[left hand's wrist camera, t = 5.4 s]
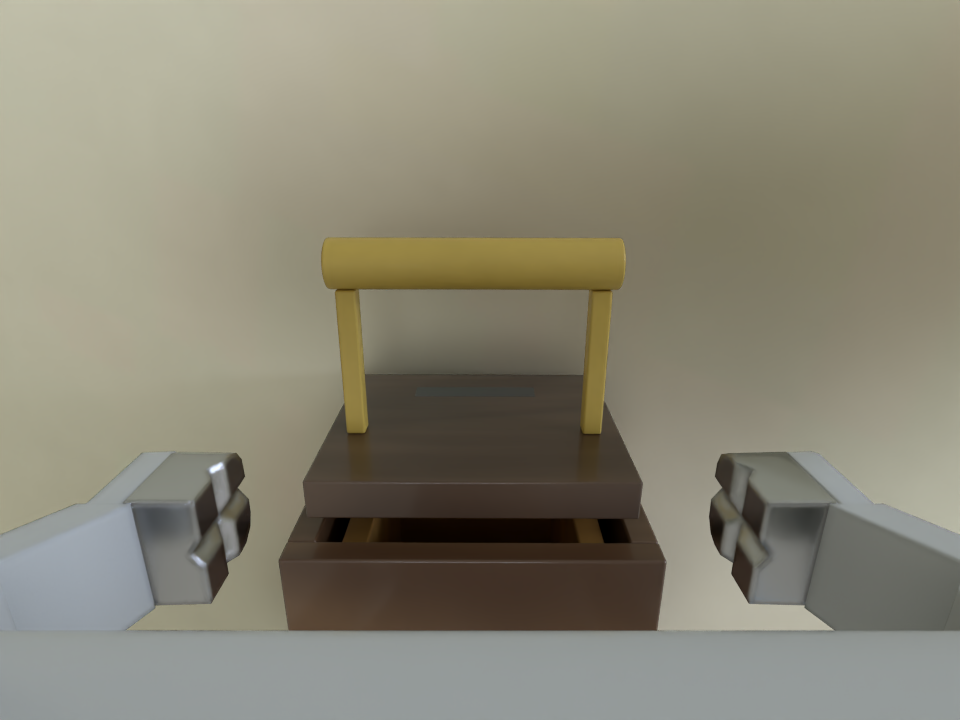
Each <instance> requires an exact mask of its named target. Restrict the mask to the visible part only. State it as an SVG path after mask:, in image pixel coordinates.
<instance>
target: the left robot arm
mask: <svg viewBox="0 0 960 720" xmlns="http://www.w3.org/2000/svg"><path fill="white" fill-rule="evenodd" d="M244 477H245V474H244V469H243V464H242V459H241V458H240V457H239V456H238V455H237V454H236V453H207V452H175V451H168V452H146V453H141V454H140V455H139V456H138V457H137V458H136V459H135V460H134V461H132V462H131V463H130V464H129V465H128V466H127V467H126V468H125V469H124V470H123V471H121V472H120V473H119V474H118V475H117V476H116V477H115V478H114V479H113V480H112V481H111V482H109V483H108V484H107V485H106V486H105V487H104V488H103V489H102V490H101V491H100V492H98V493H97V494H96V495H95V496H94V497H93V498H92V499H91V500H90V501H89V502H87V503H86V504H74V505H72V506H69V507H67V508H65V509H62V510H60V511H57V512H55V513H52V514H50V515H47V516H45V517H42V518H40V519H38V520H35V521H33V522H30V523H28V524H25V525H23V526H20V527H18V528H15V529H13V530H11V531H8V532H6V533H3V534H1V535H0V720H960V535H959V534H957V533H954V532H952V531H949V530H947V529H944V528H942V527H940V526H937V525H935V524H932V523H930V522H927V521H925V520H922V519H920V518H917V517H915V516H913V515H910V514H908V513H905V512H903V511H900V510H898V509H895V508H893V507H890V506H888V505H886V504H874V503H873V502H872V501H870V500H869V499H868V498H867V497H866V496H865V495H864V494H863V493H862V492H861V491H859V490H858V489H857V488H856V487H855V486H854V485H853V484H852V483H851V482H850V481H849V480H847V479H846V478H845V477H844V476H843V475H842V474H841V473H840V472H839V471H838V470H836V469H835V468H834V467H833V466H832V465H831V464H830V463H829V462H828V461H827V460H825V459H824V458H823V457H822V456H821V455H820V454H819V453H815V452H812V451H804V452H762V453H727V454H721V456H720V459H719V461H718V463H717V468H716V474H715V477H716V479H717V480H718V482H719V483H720V485H721V486H722V489H721V490H720V491H719V492H718V493H717V494H716V495H715V496H714V497H713V498H712V499H711V506H710V514H709V519H710V529H711V535H712V538H713V541H714V544H715V546H716V548H717V550H718V551H719V553H720V555H721V556H723V557H725V558H726V559H728V560H729V561H731V562H733V567H732V573H731V574H732V576H733V577H734V579H735V581H736V582H737V584H738V586H739V588H740V589H741V591H742V593H743V594H744V596H745V598H746V599H747V601H748V603H749V604H777V605H805V607H804V608H806V609H807V610H808V611H810V612H811V613H812V614H814V615H815V616H816V617H818V618H819V619H820V620H822V621H823V622H824V623H826V624H827V625H828V626H830V627H831V628H832V629H834V630H835V631H202V630H127V629H128V628H129V627H131V626H132V625H133V624H135V623H136V622H137V621H139V620H140V619H141V618H143V617H144V616H145V615H147V614H148V613H149V612H151V611H152V610H153V609H155V605H182V604H211V603H212V601H213V600H214V598H215V596H216V594H217V593H218V591H219V589H220V588H221V586H222V584H223V583H224V581H225V579H226V577H227V576H228V574H229V573H228V567H227V562H229V561H231V560H232V559H234V558H235V557H237V556H239V555H240V553H241V551H242V550H243V548H244V546H245V544H246V542H247V537H248V533H249V529H250V505H249V499H248V498H247V497H246V496H245V495H244V494H243V493H242V492H241V491H240V490H239V489H238V486H239V485H240V483H241V482H242V480H243V479H244Z"/></svg>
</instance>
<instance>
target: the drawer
mask: <svg viewBox="0 0 960 720" xmlns="http://www.w3.org/2000/svg"><path fill="white" fill-rule="evenodd" d="M321 266H322V275H323V279H324V282H325V285H326V287H327V288H329V289H337V290H336V291H335V299H336V310H337V322H338V334H339V345H340V357H341V368H342V380H343V391H344V405H343V407H342V408H341V410H340V412H339V414H338V416H337V418H336V420H335V422H334V424H333V425H332V427H331V429H330V431H329V433H328V435H327V437H326V439H325V441H324V443H323V444H322V446H321V448H320V450H319V452H318V454H317V456H316V458H315V460H314V462H313V463H312V465H311V467H310V469H309V471H308V473H307V475H306V477H305V479H304V480H303V488H304V497H305V505H306V513H307V517H308V518H350V521H349V524H348V527H347V530H346V533H345V535H344V538H343V541H342V542H403V543H604V540H603V537H602V534H601V530H600V527H599V524H598V520H597V519H638V518H639V513H640V504H641V495H642V486H643V483H642V480H641V478H640V476H639V474H638V472H637V470H636V468H635V465H634V463H633V461H632V459H631V457H630V455H629V453H628V450H627V448H626V446H625V444H624V442H623V440H622V438H621V436H620V433H619V431H618V429H617V427H616V425H615V423H614V421H613V418H612V416H611V414H610V412H609V410H608V408H607V406H606V404H605V401H604V392H605V380H606V367H607V355H608V343H609V331H610V319H611V306H612V294H613V293H612V291H611V290H618V289H620V288H621V286H622V284H623V280H624V276H625V267H626V253H625V246H624V242H623V240H622V239H620V238H334V237H328V238H326V239H325V240H324V243H323V246H322V253H321ZM359 289H501V290H589V302H588V317H587V332H586V347H585V361H584V375H365V371H364V358H363V344H362V330H361V316H360V302H359Z"/></svg>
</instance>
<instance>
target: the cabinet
mask: <svg viewBox="0 0 960 720" xmlns="http://www.w3.org/2000/svg"><path fill="white" fill-rule="evenodd" d="M597 520H598V524H599V527H600V530H601V534H602V537H603V540H604V543H403V542H342V541H343V538H344V535H345V533H346V530H347V527H348V524H349V521H350V518H308V517H307V513H306V505H305V507H304V509H303V511H302V513H301V515H300V517H299V519H298V521H297V523H296V525H295V527H294V529H293V531H292V533H291V535H290V538H289V540H288V543H287V544H286V546H285V548H284V550H283V552H282V554H281V556H280V558H279V567H280V574H281V581H282V588H283V595H284V602H285V609H286V615H287V622H288V629H289V631H657V627H658V620H659V613H660V606H661V598H662V591H663V584H664V576H665V569H666V560H665V557H664V555H663V553H662V551H661V548H660V546H659V544H658V542H657V539H656V537H655V535H654V533H653V530H652V528H651V526H650V523H649V521H648V519H647V517H646V514H645V512H644V510H643V507H642V505H641V504H640V513H639V518H638V519H597Z"/></svg>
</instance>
